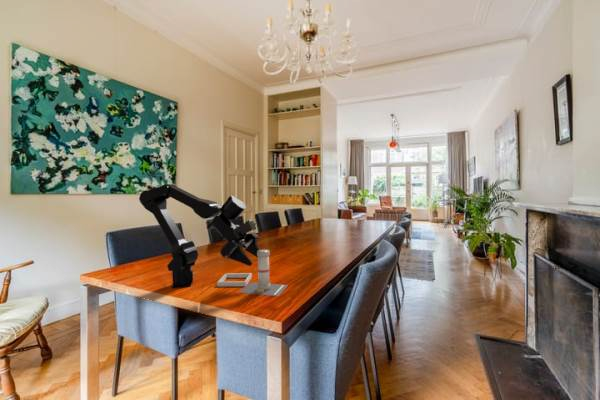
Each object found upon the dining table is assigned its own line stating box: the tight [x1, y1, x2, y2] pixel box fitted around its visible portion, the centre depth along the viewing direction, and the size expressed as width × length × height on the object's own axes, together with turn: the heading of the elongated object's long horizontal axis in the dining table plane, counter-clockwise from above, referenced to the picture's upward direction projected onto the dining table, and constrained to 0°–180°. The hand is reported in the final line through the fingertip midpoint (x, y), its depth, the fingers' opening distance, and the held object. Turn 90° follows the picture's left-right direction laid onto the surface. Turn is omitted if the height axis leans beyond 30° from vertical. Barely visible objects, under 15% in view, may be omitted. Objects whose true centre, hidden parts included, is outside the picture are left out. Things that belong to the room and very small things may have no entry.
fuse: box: [257, 249, 271, 291], centre depth 93 cm, size 4×4×13 cm
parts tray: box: [216, 272, 253, 287], centre depth 101 cm, size 10×10×2 cm
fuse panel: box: [238, 281, 288, 297], centre depth 93 cm, size 14×10×2 cm
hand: (256, 261), depth 94 cm, fingers open, 9 cm apart
